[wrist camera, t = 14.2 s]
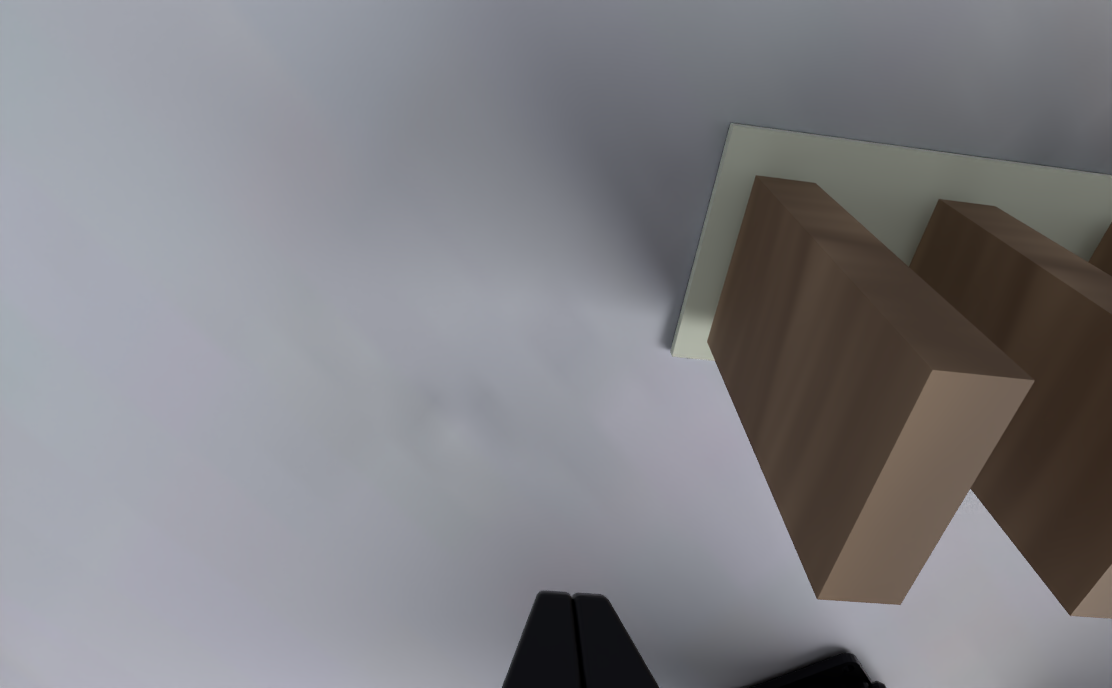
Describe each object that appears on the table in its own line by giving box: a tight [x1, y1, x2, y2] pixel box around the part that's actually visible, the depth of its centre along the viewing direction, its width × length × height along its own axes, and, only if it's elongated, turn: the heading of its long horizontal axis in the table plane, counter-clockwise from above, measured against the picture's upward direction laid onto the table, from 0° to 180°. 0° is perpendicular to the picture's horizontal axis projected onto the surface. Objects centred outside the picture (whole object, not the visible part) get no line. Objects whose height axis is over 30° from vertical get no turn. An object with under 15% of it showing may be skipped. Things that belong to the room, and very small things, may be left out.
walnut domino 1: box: [707, 175, 1035, 605], centre depth 15 cm, size 2×5×9 cm, turn 172°
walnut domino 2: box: [909, 199, 1112, 619], centre depth 16 cm, size 2×5×9 cm, turn 172°
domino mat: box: [670, 123, 1112, 361], centre depth 21 cm, size 23×7×1 cm, turn 82°
